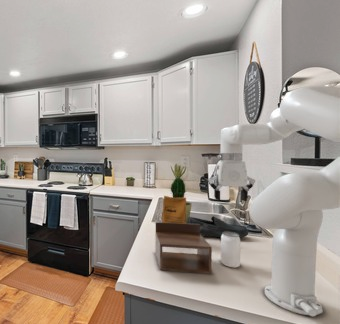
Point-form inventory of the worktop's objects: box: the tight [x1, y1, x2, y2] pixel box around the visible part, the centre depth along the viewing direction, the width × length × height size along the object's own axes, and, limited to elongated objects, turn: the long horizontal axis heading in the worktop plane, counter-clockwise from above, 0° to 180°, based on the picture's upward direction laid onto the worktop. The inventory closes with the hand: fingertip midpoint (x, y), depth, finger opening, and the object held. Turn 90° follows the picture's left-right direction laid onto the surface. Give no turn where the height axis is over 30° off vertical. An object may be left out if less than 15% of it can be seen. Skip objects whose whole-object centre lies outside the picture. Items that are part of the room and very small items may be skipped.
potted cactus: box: [170, 177, 192, 223], centre depth 131 cm, size 15×15×30 cm
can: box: [220, 232, 241, 269], centre depth 88 cm, size 6×6×12 cm
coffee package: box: [161, 195, 187, 223], centre depth 113 cm, size 10×12×22 cm
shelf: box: [154, 221, 213, 275], centre depth 89 cm, size 14×18×14 cm
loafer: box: [187, 215, 249, 239], centre depth 117 cm, size 10×29×10 cm, turn 81°
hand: (230, 200), depth 90 cm, fingers open, 9 cm apart
